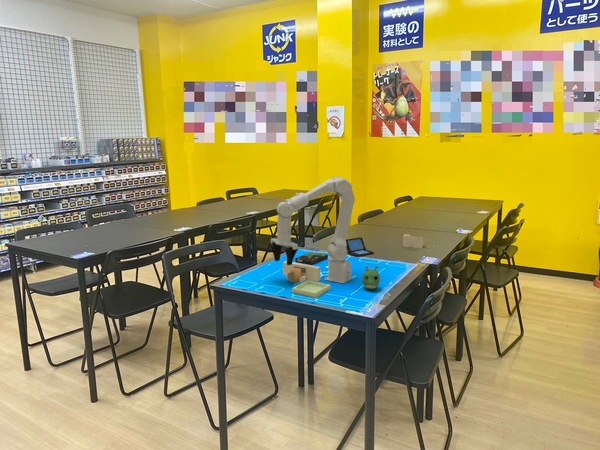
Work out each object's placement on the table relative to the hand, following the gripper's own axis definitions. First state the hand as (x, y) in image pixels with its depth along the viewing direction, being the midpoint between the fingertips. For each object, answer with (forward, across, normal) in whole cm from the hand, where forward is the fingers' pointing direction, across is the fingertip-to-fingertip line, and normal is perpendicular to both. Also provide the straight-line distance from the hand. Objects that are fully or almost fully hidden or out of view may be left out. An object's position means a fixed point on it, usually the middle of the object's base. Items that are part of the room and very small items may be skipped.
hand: (283, 262), depth 189 cm
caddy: (+9, +2, +5) cm, 10 cm away
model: (+7, +5, +94) cm, 94 cm away
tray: (+9, +16, +1) cm, 18 cm away
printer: (+9, +1, +9) cm, 13 cm away
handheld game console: (+8, -8, +62) cm, 63 cm away
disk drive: (+9, -16, +34) cm, 39 cm away
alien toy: (+8, +31, +20) cm, 38 cm away
